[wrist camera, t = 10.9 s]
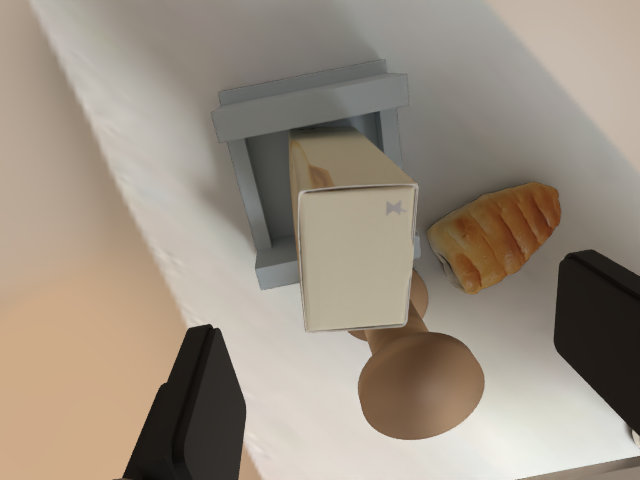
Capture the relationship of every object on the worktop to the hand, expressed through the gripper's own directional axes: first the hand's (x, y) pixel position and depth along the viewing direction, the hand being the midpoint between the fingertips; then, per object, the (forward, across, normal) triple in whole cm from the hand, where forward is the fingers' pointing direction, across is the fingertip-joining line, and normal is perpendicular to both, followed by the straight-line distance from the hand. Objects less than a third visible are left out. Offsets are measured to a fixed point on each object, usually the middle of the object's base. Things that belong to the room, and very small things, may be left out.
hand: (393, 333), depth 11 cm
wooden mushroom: (+18, -2, +10) cm, 20 cm away
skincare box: (+16, 0, 0) cm, 17 cm away
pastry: (+18, -10, +6) cm, 22 cm away
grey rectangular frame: (+17, +1, -1) cm, 17 cm away
